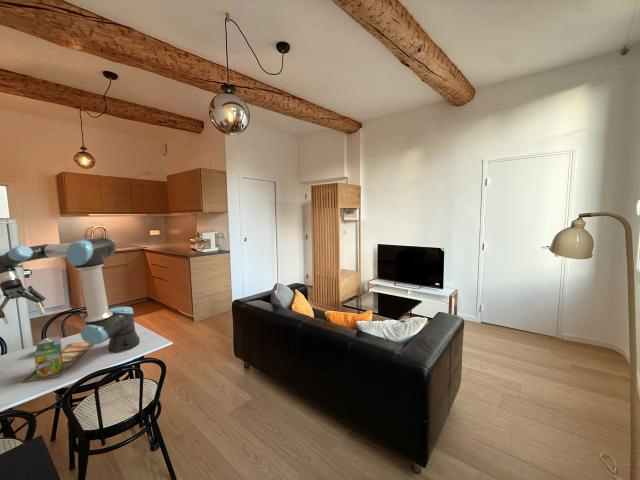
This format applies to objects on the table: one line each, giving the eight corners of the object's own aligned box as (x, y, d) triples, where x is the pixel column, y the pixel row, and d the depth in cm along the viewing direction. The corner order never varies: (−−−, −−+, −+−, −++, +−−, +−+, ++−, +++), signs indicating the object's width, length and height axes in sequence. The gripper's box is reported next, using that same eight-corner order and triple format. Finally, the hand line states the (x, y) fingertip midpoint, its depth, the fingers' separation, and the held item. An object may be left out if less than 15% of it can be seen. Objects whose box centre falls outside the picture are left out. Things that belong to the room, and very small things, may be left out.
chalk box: (37, 379, 129) (32, 350, 127) (38, 371, 136) (33, 343, 134) (63, 371, 136) (59, 343, 134) (63, 363, 142) (59, 337, 140)
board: (58, 377, 131) (58, 375, 131) (21, 382, 127) (21, 380, 127) (97, 341, 164) (97, 340, 164) (69, 345, 161) (69, 343, 161)
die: (53, 354, 151) (51, 342, 150) (38, 356, 150) (36, 344, 149) (61, 347, 158) (60, 336, 157) (47, 349, 156) (45, 337, 155)
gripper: (36, 279, 154) (51, 313, 153) (-31, 290, 130) (-13, 330, 129) (43, 273, 152) (59, 307, 151) (-23, 284, 128) (-5, 324, 127)
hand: (26, 318), depth 140 cm, fingers open, 13 cm apart
